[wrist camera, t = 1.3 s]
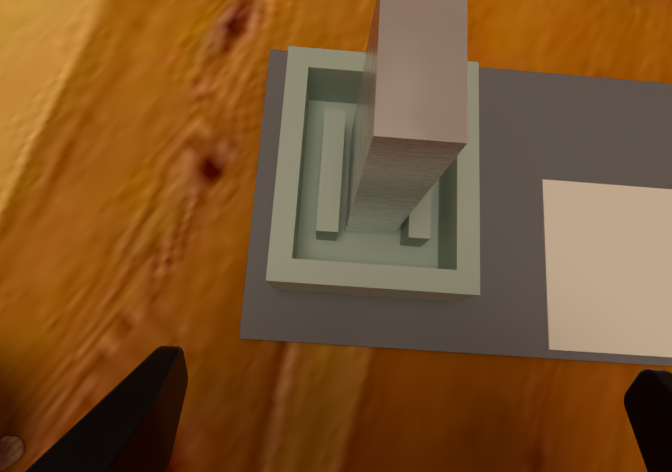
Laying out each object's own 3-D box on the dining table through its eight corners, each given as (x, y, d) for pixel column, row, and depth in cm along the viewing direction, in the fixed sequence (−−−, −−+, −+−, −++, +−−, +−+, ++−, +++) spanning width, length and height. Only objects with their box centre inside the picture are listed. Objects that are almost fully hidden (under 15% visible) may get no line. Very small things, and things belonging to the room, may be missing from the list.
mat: (724, 369, 23) (735, 370, 22) (240, 338, 22) (238, 338, 21) (690, 90, 26) (698, 85, 26) (271, 54, 25) (270, 48, 25)
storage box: (451, 301, 22) (480, 295, 18) (274, 289, 22) (265, 280, 18) (452, 104, 25) (478, 62, 21) (292, 91, 24) (288, 46, 20)
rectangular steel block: (392, 235, 22) (467, 143, 11) (344, 231, 22) (373, 135, 11) (395, 142, 23) (467, -24, 12) (350, 138, 23) (381, -32, 12)
